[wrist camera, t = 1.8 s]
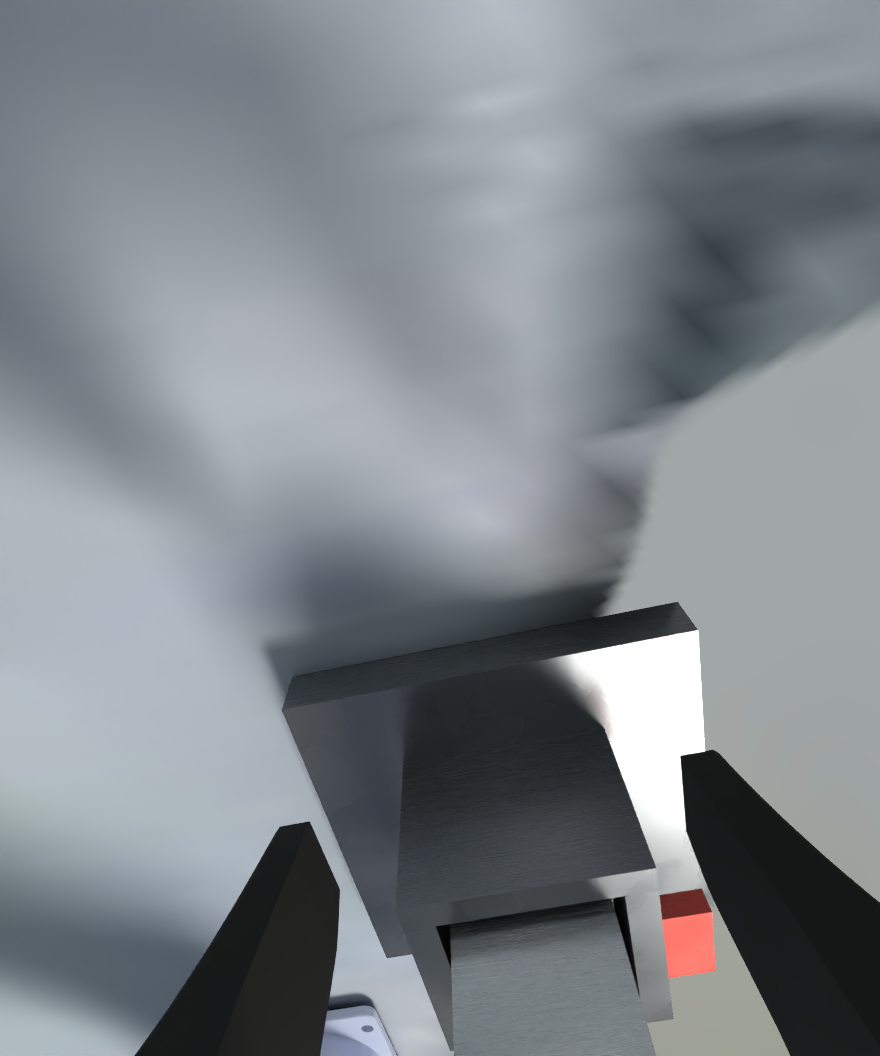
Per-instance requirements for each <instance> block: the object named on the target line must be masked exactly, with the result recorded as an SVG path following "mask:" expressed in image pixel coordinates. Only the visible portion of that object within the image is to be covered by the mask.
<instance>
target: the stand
mask: <svg viewBox="0 0 880 1056" xmlns="http://www.w3.org/2000/svg"><path fill="white" fill-rule="evenodd" d="M282 711H283V714H284V716H285V718H286V721H287V723H288V726H289V728H290V730H291V733H292V735H293V737H294V740H295V742H296V744H297V747H298V749H299V752H300V754H301V756H302V759H303V761H304V763H305V766H306V768H307V770H308V773H309V775H310V778H311V780H312V782H313V785H314V787H315V789H316V792H317V794H318V796H319V799H320V801H321V804H322V806H323V808H324V811H325V813H326V815H327V818H328V820H329V822H330V825H331V827H332V830H333V832H334V834H335V837H336V839H337V841H338V844H339V846H340V849H341V851H342V853H343V856H344V858H345V860H346V863H347V865H348V867H349V870H350V872H351V875H352V877H353V879H354V882H355V884H356V886H357V889H358V891H359V893H360V896H361V898H362V901H363V903H364V905H365V908H366V910H367V912H368V915H369V917H370V919H371V922H372V924H373V927H374V929H375V931H376V934H377V936H378V938H379V941H380V943H381V945H382V948H383V950H384V953H385V955H386V957H387V958H391V957H397V956H404V955H410V954H413V957H414V959H415V962H416V964H417V967H418V970H419V972H420V975H421V977H422V980H423V982H424V985H425V987H426V990H427V993H428V995H429V998H430V1000H431V1003H432V1005H433V1008H434V1010H435V1013H436V1015H437V1018H438V1021H439V1023H440V1026H441V1028H442V1031H443V1033H444V1036H445V1038H446V1041H447V1043H448V1046H449V1049H450V1051H453V1050H454V1041H453V1007H452V974H451V941H450V924H453V923H459V922H465V921H472V920H478V919H484V918H490V917H497V916H503V915H509V914H516V913H522V912H528V911H534V910H541V909H547V908H553V907H559V906H566V905H572V904H578V903H585V902H591V901H597V900H603V899H610V898H613V904H614V909H615V913H616V916H617V920H618V923H619V927H620V930H621V934H622V937H623V941H624V944H625V948H626V951H627V955H628V958H629V962H630V965H631V969H632V972H633V976H634V979H635V983H636V987H637V990H638V994H639V997H640V1001H641V1004H642V1008H643V1011H644V1015H645V1018H646V1022H647V1023H649V1022H656V1021H663V1020H670V1019H673V1013H672V1003H671V994H670V985H669V978H672V977H678V976H685V975H692V974H699V973H705V972H712V971H715V954H714V939H713V938H714V937H713V919H712V911H711V907H713V906H714V905H713V898H712V896H711V894H710V892H709V889H708V887H707V884H706V882H705V879H704V877H703V874H702V872H701V869H700V867H699V864H698V861H697V859H696V856H695V853H694V851H693V848H692V845H691V843H690V840H689V837H688V835H687V832H686V823H685V810H684V798H683V786H682V774H681V762H680V756H681V755H686V754H692V753H698V752H703V751H705V745H704V727H703V710H702V691H701V673H700V656H699V638H698V630H697V628H696V627H695V625H694V624H693V623H692V621H691V620H690V618H689V617H688V616H687V614H686V613H685V612H684V610H683V609H682V607H681V606H680V605H679V603H678V602H675V603H670V604H665V605H660V606H654V607H649V608H644V609H639V610H634V611H629V612H624V613H619V614H613V615H608V616H603V617H598V618H593V619H588V620H583V621H578V622H572V623H567V624H562V625H557V626H552V627H547V628H542V629H537V630H531V631H526V632H521V633H516V634H511V635H506V636H501V637H496V638H490V639H485V640H480V641H475V642H470V643H465V644H460V645H455V646H450V647H444V648H439V649H434V650H429V651H424V652H419V653H414V654H409V655H403V656H398V657H393V658H388V659H383V660H378V661H373V662H368V663H362V664H357V665H352V666H347V667H342V668H337V669H332V670H327V671H321V672H316V673H311V674H306V675H301V676H296V677H293V678H292V681H291V684H290V687H289V690H288V693H287V696H286V699H285V702H284V705H283V708H282Z"/></svg>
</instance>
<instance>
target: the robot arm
mask: <svg viewBox="0 0 880 1056" xmlns="http://www.w3.org/2000/svg"><path fill="white" fill-rule="evenodd" d="M680 762H681V774H682V786H683V798H684V810H685V823H686V832H687V835H688V837H689V840H690V843H691V845H692V848H693V851H694V853H695V856H696V859H697V861H698V864H699V867H700V869H701V872H702V874H703V877H704V879H705V882H706V884H707V887H708V889H709V892H710V894H711V896H712V898H713V900H714V902H715V904H716V906H717V908H718V910H719V912H720V914H721V916H722V918H723V920H724V922H725V924H726V926H727V928H728V930H729V932H730V934H731V936H732V938H733V940H734V942H735V944H736V946H737V948H738V950H739V952H740V954H741V956H742V958H743V960H744V962H745V964H746V966H747V968H748V970H749V972H750V974H751V976H752V978H753V980H754V982H755V984H756V986H757V988H758V990H759V992H760V994H761V996H762V998H763V1000H764V1002H765V1004H766V1006H767V1008H768V1010H769V1012H770V1014H771V1016H772V1018H773V1020H774V1022H775V1024H776V1026H777V1028H778V1030H779V1032H780V1034H781V1036H782V1039H783V1041H784V1043H785V1045H786V1047H787V1049H788V1051H789V1054H790V1056H880V902H878V901H877V900H876V899H875V898H873V897H872V896H871V895H870V894H869V893H867V892H866V891H865V890H864V889H862V888H861V887H860V886H859V885H858V884H856V883H855V882H854V881H853V880H852V879H851V878H849V877H848V876H847V875H846V874H845V873H843V872H842V871H841V870H840V869H839V868H838V867H837V866H835V865H834V864H833V863H832V862H831V861H830V860H828V859H827V858H826V857H825V856H824V855H823V854H822V853H820V852H819V851H818V850H817V849H816V848H815V847H814V846H813V845H812V844H810V842H808V841H807V840H806V839H805V838H804V837H803V836H802V835H801V834H800V833H799V832H797V831H796V830H795V829H794V828H793V827H792V826H791V825H790V824H789V823H788V822H787V821H785V820H784V819H783V818H782V817H781V816H780V815H779V814H778V813H777V812H776V811H775V810H774V809H773V808H772V807H771V806H770V805H769V804H768V803H767V802H766V801H765V800H764V799H763V798H762V797H761V796H760V795H758V793H757V792H756V791H755V790H754V789H753V788H752V787H751V786H750V785H749V784H747V782H746V781H744V779H743V778H742V777H741V776H740V775H739V774H738V773H737V772H736V771H735V770H734V769H733V768H732V767H731V766H730V765H729V764H728V762H727V761H726V760H725V759H724V758H723V757H722V756H721V755H720V754H719V753H718V752H716V751H714V750H709V751H703V752H698V753H692V754H686V755H681V756H680ZM339 898H340V889H339V887H338V884H337V882H336V880H335V878H334V875H333V873H332V871H331V869H330V866H329V864H328V862H327V860H326V857H325V855H324V853H323V851H322V848H321V846H320V844H319V842H318V839H317V837H316V835H315V833H314V830H313V828H312V826H311V824H310V822H304V823H299V824H293V825H287V826H282V827H280V828H279V829H278V830H277V832H276V833H275V835H274V837H273V839H272V840H271V842H270V844H269V846H268V847H267V849H266V851H265V853H264V854H263V856H262V858H261V860H260V861H259V863H258V865H257V867H256V868H255V870H254V872H253V874H252V875H251V877H250V879H249V881H248V882H247V884H246V886H245V887H244V889H243V891H242V893H241V894H240V896H239V898H238V899H237V901H236V903H235V905H234V906H233V908H232V910H231V911H230V913H229V914H228V916H227V918H226V919H225V921H224V923H223V924H222V926H221V928H220V929H219V931H218V933H217V934H216V936H215V938H214V939H213V941H212V943H211V944H210V946H209V947H208V949H207V951H206V952H205V954H204V955H203V957H202V958H201V960H200V961H199V963H198V964H197V966H196V968H195V969H194V971H193V972H192V974H191V975H190V977H189V978H188V980H187V981H186V983H185V984H184V986H183V987H182V989H181V990H180V992H179V993H178V995H177V996H176V998H175V1000H174V1001H173V1002H172V1004H171V1005H170V1007H169V1008H168V1010H167V1011H166V1013H165V1014H164V1015H163V1017H162V1018H161V1020H160V1021H159V1023H158V1024H157V1026H156V1027H155V1028H154V1030H153V1031H152V1032H151V1034H150V1035H149V1037H148V1038H147V1039H146V1041H145V1042H144V1044H143V1045H142V1046H141V1048H140V1049H139V1050H138V1052H137V1053H136V1054H135V1056H397V1055H396V1053H395V1051H394V1049H393V1047H392V1044H391V1042H390V1040H389V1038H388V1036H387V1034H386V1031H385V1029H384V1027H383V1025H382V1023H381V1021H380V1018H379V1016H378V1014H377V1012H376V1010H375V1009H374V1008H372V1007H371V1006H357V1007H350V1008H344V1009H337V1010H330V1011H327V1010H328V1004H329V997H330V991H331V984H332V978H333V971H334V965H335V958H336V951H337V938H338V922H339Z"/></svg>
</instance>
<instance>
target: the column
mask: <svg viewBox="0 0 880 1056" xmlns="http://www.w3.org/2000/svg"><path fill="white" fill-rule="evenodd" d="M450 941H451V974H452V1007H453V1041H454V1056H656V1054H655V1050H654V1047H653V1043H652V1039H651V1036H650V1032H649V1029H648V1025H647V1022H646V1018H645V1015H644V1011H643V1008H642V1004H641V1001H640V997H639V994H638V990H637V987H636V983H635V979H634V976H633V972H632V969H631V965H630V962H629V958H628V955H627V951H626V948H625V944H624V941H623V937H622V934H621V930H620V927H619V923H618V920H617V916H616V913H615V909H614V904H613V898H610V899H603V900H597V901H591V902H585V903H578V904H572V905H566V906H559V907H553V908H547V909H541V910H534V911H528V912H522V913H516V914H509V915H503V916H497V917H490V918H484V919H478V920H472V921H465V922H459V923H453V924H450Z"/></svg>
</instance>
